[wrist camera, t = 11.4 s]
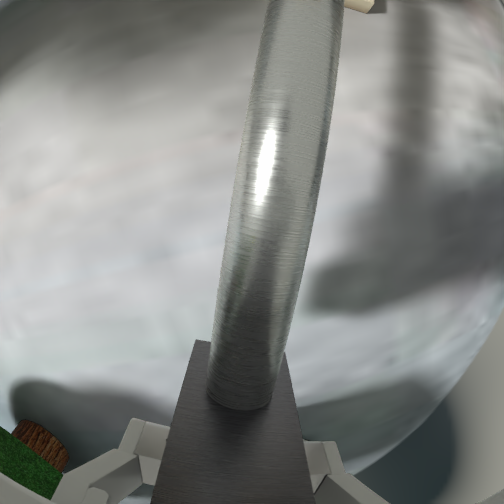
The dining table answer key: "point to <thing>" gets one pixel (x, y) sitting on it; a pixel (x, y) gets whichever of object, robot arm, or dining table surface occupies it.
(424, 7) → the dining table surface
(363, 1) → the shaft stand
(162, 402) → the dining table surface
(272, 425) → the shaft
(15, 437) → the decorative tree
